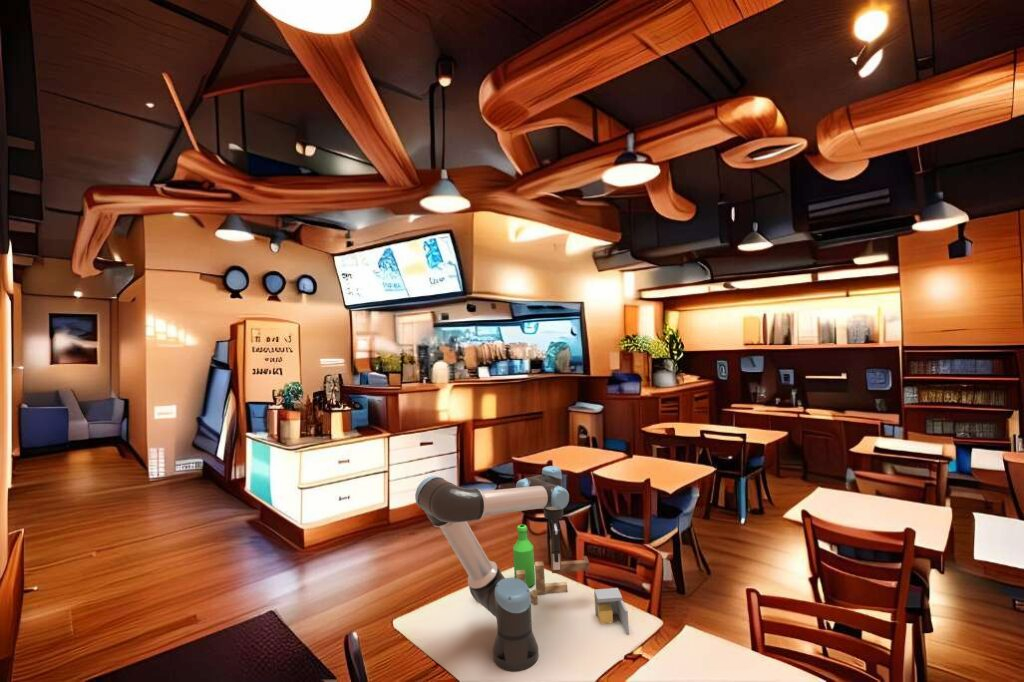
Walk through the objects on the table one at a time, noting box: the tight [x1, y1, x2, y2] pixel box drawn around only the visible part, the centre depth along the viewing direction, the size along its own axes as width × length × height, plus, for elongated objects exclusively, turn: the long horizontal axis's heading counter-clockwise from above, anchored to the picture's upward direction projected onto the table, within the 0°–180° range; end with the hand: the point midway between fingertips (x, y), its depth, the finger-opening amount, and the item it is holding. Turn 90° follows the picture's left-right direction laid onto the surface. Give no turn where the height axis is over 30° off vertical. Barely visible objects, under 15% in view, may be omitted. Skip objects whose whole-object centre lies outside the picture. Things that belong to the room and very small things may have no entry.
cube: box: [598, 604, 614, 624], centre depth 176 cm, size 4×4×4 cm
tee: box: [516, 570, 539, 606], centre depth 191 cm, size 8×5×12 cm, turn 92°
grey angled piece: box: [593, 587, 630, 635], centre depth 173 cm, size 9×13×9 cm
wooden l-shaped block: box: [534, 561, 568, 596], centre depth 197 cm, size 13×4×12 cm, turn 92°
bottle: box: [512, 524, 536, 588], centre depth 205 cm, size 9×9×25 cm
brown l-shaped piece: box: [549, 538, 591, 574], centre depth 188 cm, size 15×6×12 cm, turn 92°
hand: (555, 566), depth 186 cm, fingers closed on brown l-shaped piece, 3 cm apart
